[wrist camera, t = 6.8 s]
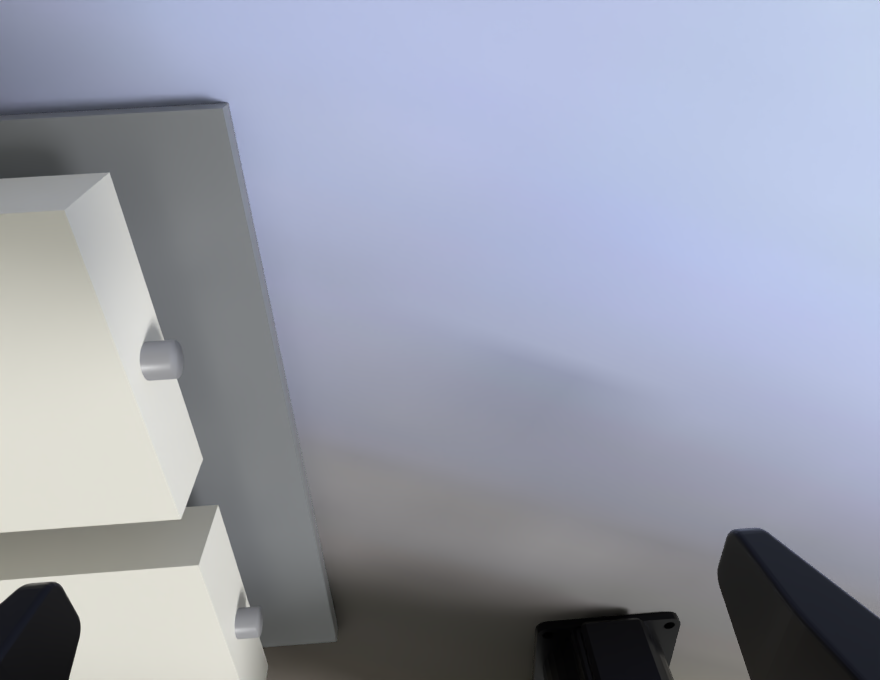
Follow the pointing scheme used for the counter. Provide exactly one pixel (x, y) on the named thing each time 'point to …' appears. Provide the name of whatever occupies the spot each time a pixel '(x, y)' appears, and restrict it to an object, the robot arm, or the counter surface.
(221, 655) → the block
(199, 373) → the switch base
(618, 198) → the counter surface
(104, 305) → the rocker
